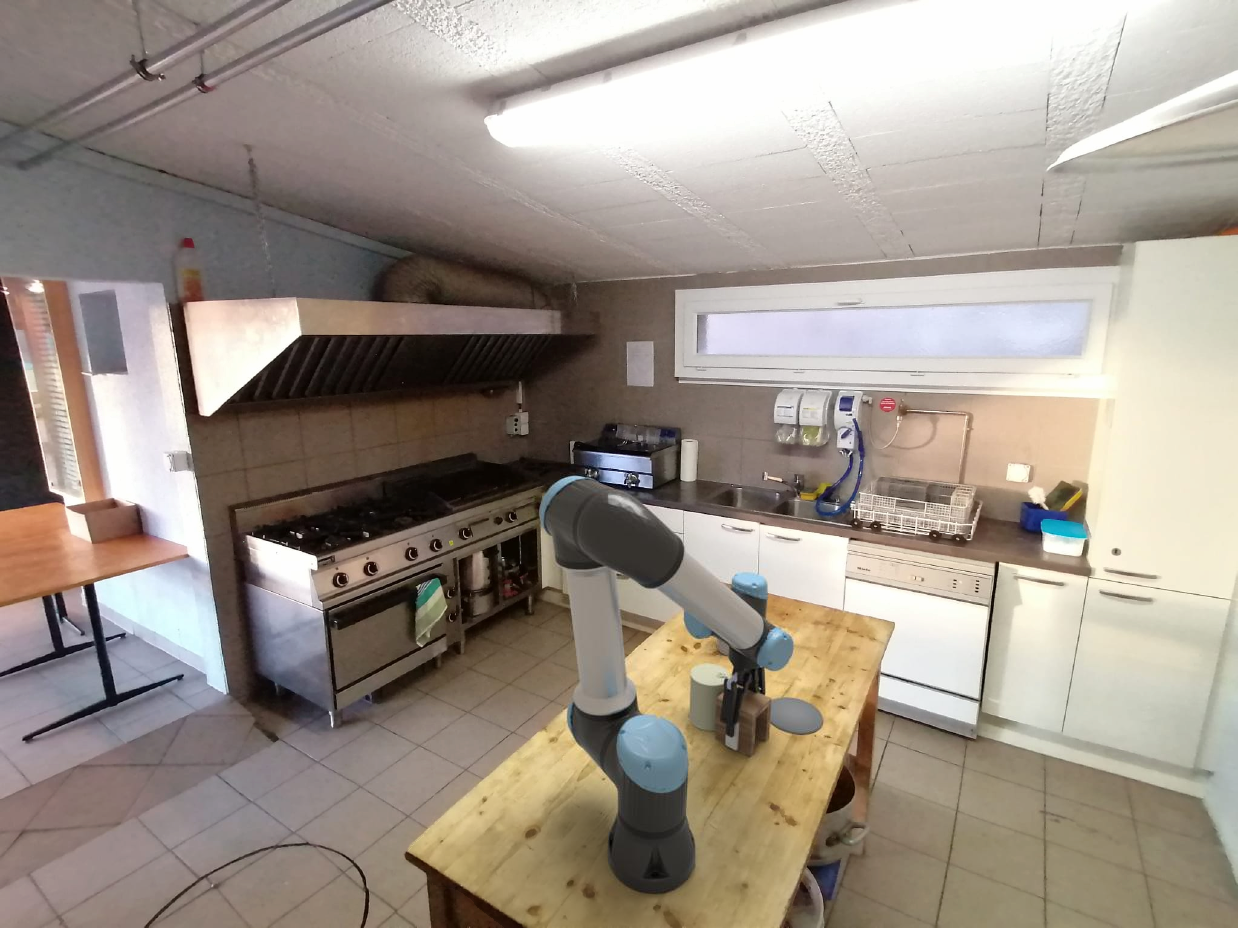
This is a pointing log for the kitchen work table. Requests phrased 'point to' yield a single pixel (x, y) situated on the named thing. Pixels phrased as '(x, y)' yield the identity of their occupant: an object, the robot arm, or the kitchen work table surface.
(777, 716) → the rubber mat
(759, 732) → the wooden stool
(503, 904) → the kitchen work table surface
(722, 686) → the can
